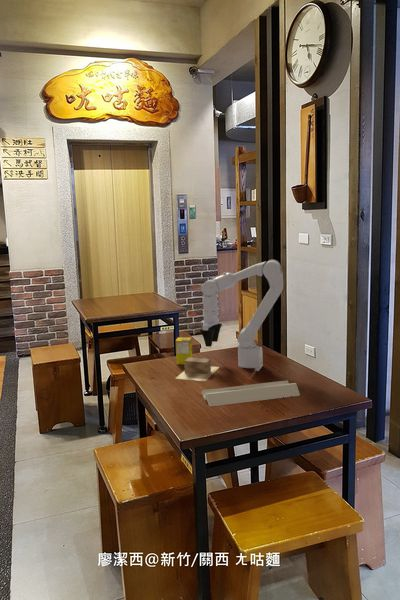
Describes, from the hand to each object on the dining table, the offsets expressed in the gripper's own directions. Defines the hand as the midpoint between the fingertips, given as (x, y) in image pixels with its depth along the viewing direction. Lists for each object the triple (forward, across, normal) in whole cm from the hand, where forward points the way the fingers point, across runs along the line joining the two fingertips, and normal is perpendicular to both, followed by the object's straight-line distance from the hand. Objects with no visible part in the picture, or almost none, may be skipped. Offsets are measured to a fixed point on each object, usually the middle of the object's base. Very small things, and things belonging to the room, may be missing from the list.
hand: (211, 343), depth 197 cm
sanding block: (+8, +12, -2) cm, 14 cm away
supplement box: (+10, 0, -12) cm, 15 cm away
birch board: (+9, +12, -2) cm, 15 cm away
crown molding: (+10, +26, +22) cm, 36 cm away
